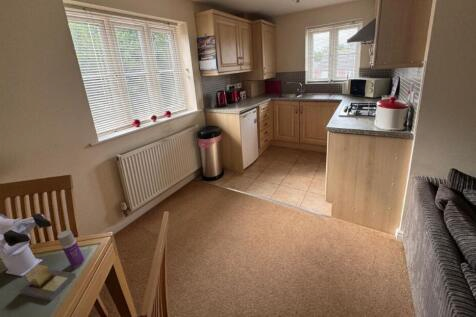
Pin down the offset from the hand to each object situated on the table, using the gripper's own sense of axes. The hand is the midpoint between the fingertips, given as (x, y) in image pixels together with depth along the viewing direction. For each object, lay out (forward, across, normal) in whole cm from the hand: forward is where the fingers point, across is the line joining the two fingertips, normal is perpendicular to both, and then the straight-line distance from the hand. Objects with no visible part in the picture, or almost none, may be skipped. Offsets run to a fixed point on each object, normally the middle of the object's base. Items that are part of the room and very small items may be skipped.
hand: (39, 230), depth 82 cm
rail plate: (-1, -4, +21) cm, 22 cm away
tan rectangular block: (-4, -5, +21) cm, 22 cm away
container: (+1, +6, +21) cm, 22 cm away
